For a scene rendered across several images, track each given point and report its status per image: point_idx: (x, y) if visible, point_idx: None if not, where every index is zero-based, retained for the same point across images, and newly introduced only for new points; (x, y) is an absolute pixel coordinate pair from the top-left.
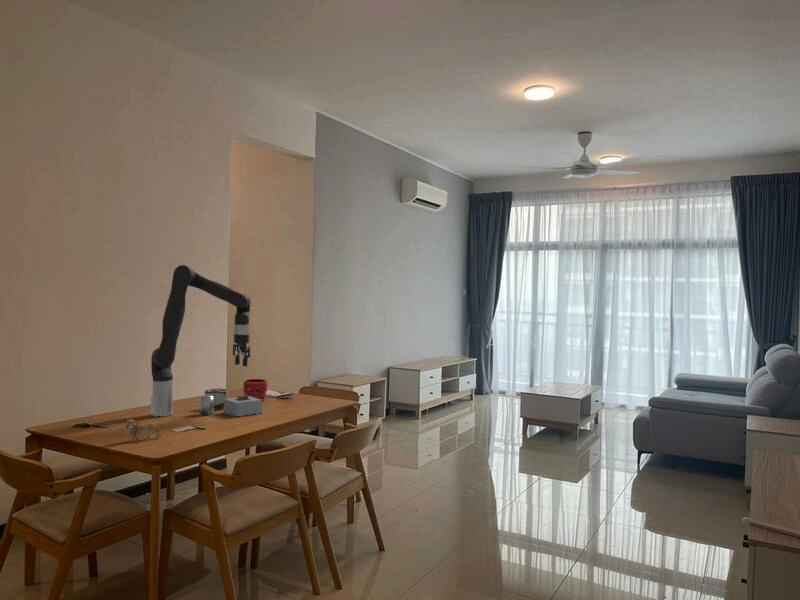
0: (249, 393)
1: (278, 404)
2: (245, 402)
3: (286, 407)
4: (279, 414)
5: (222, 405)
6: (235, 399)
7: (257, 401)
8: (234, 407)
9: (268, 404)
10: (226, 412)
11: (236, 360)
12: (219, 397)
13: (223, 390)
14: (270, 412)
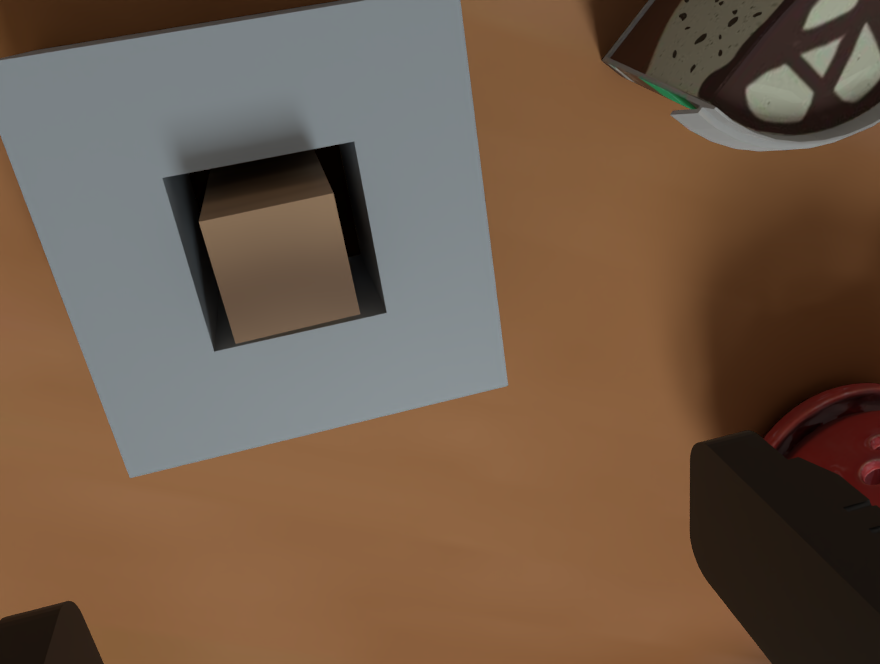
0: (838, 452)
1: (558, 615)
2: (40, 228)
3: (379, 651)
4: (28, 538)
5: (641, 45)
6: (323, 146)
7: (110, 408)
8: (69, 47)
9: (609, 541)
10: (331, 2)
11: (790, 564)
12: (727, 10)
13: (857, 112)
14: (186, 480)
